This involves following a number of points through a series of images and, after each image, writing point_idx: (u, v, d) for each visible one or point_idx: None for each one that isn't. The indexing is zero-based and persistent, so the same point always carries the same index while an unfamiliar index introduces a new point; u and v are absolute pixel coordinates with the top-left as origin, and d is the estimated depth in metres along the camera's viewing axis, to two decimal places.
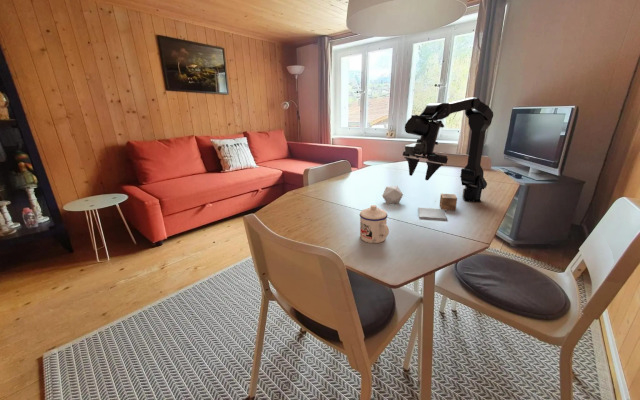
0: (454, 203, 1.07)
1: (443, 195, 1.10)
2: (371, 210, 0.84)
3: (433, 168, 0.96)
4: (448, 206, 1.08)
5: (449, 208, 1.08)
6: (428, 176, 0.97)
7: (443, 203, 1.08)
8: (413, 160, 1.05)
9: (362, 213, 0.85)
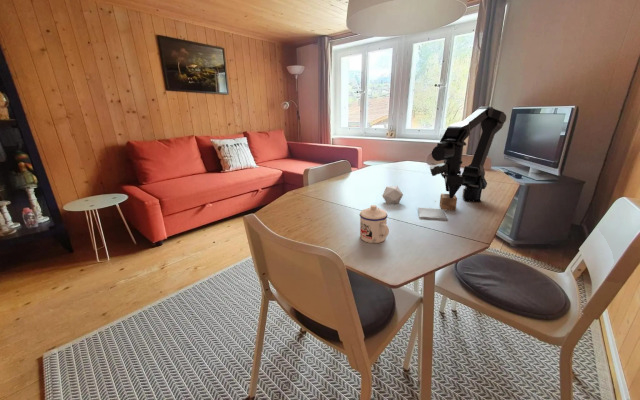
0: (454, 203, 1.07)
1: (443, 195, 1.10)
2: (371, 210, 0.84)
3: (454, 187, 1.02)
4: (448, 206, 1.08)
5: (449, 208, 1.08)
6: (451, 195, 1.04)
7: (443, 203, 1.08)
8: None
9: (362, 213, 0.85)
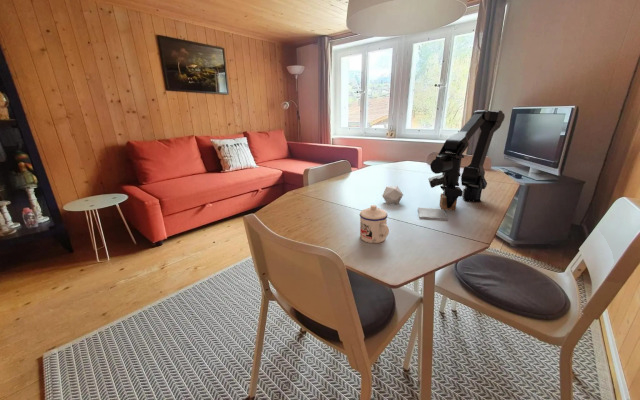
0: (454, 203, 1.07)
1: (443, 195, 1.10)
2: (371, 210, 0.84)
3: (452, 198, 1.05)
4: None
5: (449, 208, 1.08)
6: (448, 205, 1.07)
7: (443, 203, 1.08)
8: None
9: (362, 213, 0.85)
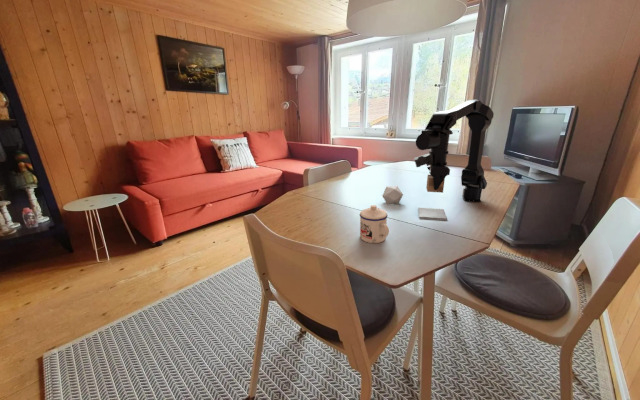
0: (441, 184, 0.98)
1: (430, 176, 1.00)
2: (371, 210, 0.84)
3: (439, 178, 0.96)
4: None
5: (436, 190, 0.99)
6: (435, 186, 0.98)
7: (430, 184, 0.99)
8: None
9: (362, 213, 0.85)
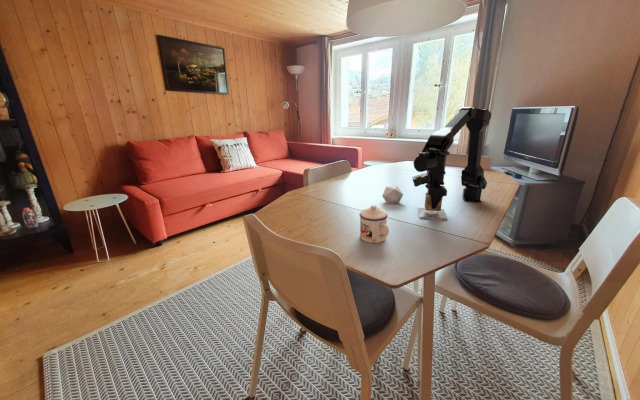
0: (439, 203, 1.00)
1: (428, 195, 1.03)
2: (371, 210, 0.84)
3: (436, 197, 0.98)
4: None
5: None
6: (433, 205, 1.00)
7: (428, 203, 1.01)
8: None
9: (362, 213, 0.85)
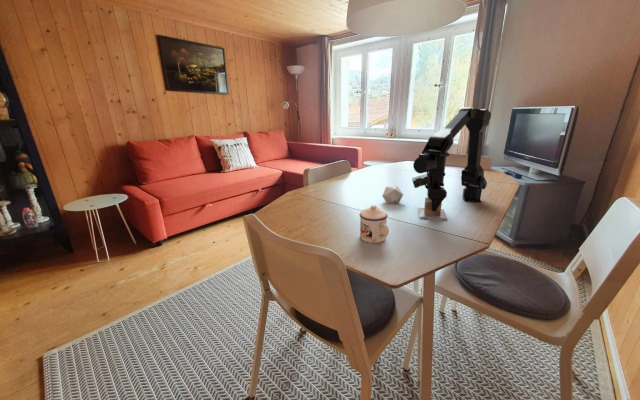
0: (439, 207, 1.01)
1: (428, 199, 1.03)
2: (371, 210, 0.84)
3: (437, 200, 0.97)
4: (432, 211, 1.02)
5: (433, 213, 1.02)
6: (433, 208, 0.99)
7: (427, 208, 1.02)
8: None
9: (362, 213, 0.85)
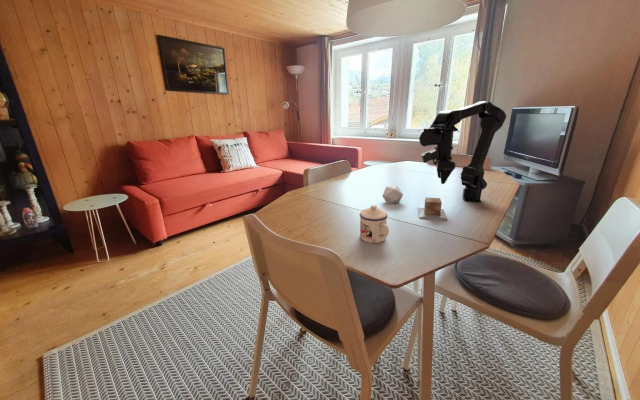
0: (439, 207, 1.01)
1: (428, 199, 1.03)
2: (371, 210, 0.84)
3: (446, 173, 1.03)
4: (432, 211, 1.02)
5: (433, 213, 1.02)
6: (442, 180, 1.05)
7: (427, 208, 1.02)
8: None
9: (362, 213, 0.85)
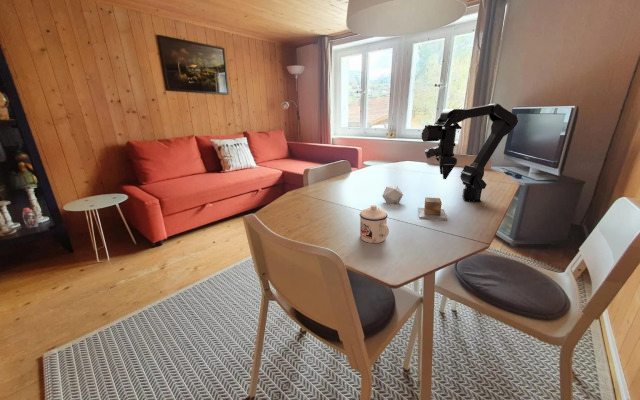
0: (439, 207, 1.01)
1: (428, 199, 1.03)
2: (371, 210, 0.84)
3: (447, 168, 1.07)
4: (432, 211, 1.02)
5: (433, 213, 1.02)
6: (444, 176, 1.09)
7: (427, 208, 1.02)
8: None
9: (362, 213, 0.85)
